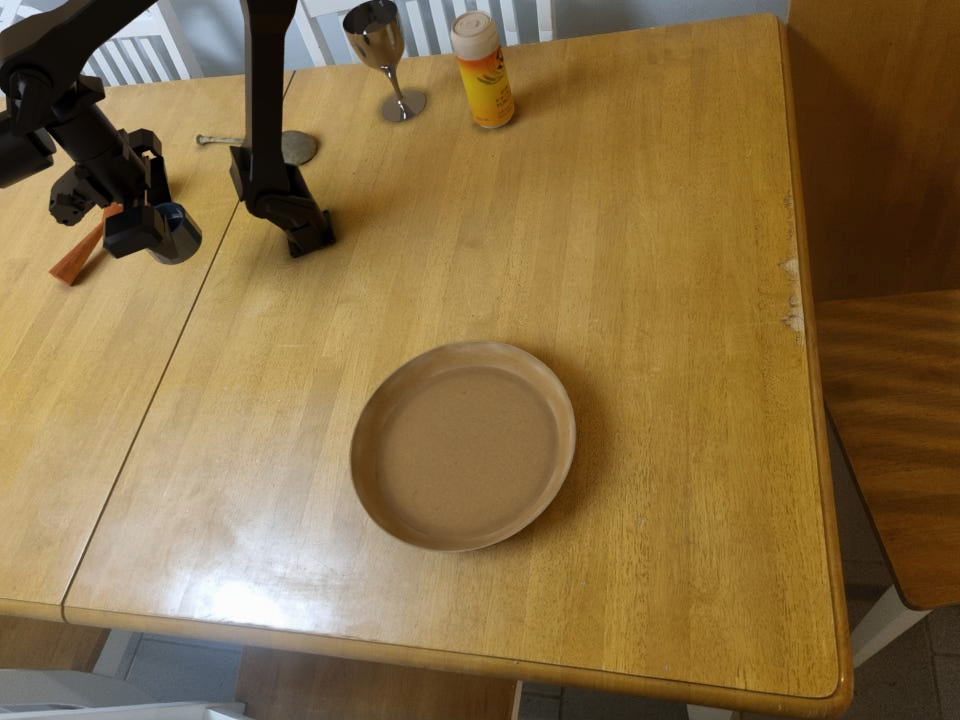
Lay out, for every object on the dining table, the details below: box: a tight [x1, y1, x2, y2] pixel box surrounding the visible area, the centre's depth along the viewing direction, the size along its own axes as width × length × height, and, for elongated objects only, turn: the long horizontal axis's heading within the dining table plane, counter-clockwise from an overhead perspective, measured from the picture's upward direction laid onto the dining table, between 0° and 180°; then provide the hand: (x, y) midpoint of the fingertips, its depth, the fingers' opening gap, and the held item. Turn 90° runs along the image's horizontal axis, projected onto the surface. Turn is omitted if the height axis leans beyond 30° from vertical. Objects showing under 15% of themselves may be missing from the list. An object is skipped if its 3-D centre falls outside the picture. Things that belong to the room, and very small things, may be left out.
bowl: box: [145, 201, 203, 266], centre depth 92 cm, size 7×7×4 cm
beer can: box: [450, 9, 516, 129], centre depth 100 cm, size 6×6×15 cm
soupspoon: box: [195, 129, 317, 165], centre depth 114 cm, size 22×3×7 cm
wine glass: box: [342, 0, 427, 123], centre depth 106 cm, size 8×8×15 cm
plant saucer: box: [348, 339, 577, 554], centre depth 77 cm, size 24×24×3 cm
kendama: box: [47, 202, 151, 287], centre depth 109 cm, size 6×6×20 cm
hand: (173, 238), depth 93 cm, fingers closed on bowl, 7 cm apart
